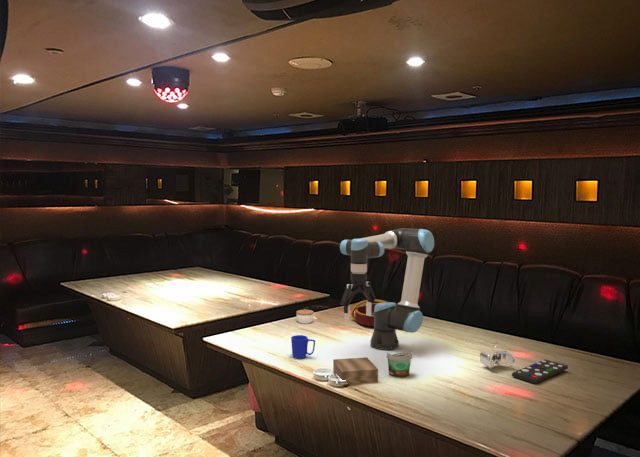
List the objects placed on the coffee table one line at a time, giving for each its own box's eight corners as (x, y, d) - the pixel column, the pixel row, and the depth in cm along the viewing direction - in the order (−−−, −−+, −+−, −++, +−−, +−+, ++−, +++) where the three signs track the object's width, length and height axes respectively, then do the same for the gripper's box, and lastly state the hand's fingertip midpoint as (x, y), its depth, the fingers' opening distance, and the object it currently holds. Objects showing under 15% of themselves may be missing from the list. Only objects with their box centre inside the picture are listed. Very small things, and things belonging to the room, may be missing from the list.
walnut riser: (366, 370, 231) (367, 357, 230) (377, 382, 215) (378, 369, 215) (333, 372, 228) (333, 359, 227) (341, 385, 212) (342, 371, 212)
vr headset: (489, 371, 231) (491, 349, 229) (477, 363, 239) (479, 341, 237) (514, 367, 236) (516, 345, 234) (502, 360, 244) (503, 338, 242)
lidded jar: (294, 322, 316) (294, 307, 315) (310, 321, 319) (310, 306, 318) (298, 326, 305) (298, 311, 305) (315, 325, 309) (315, 310, 308)
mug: (313, 360, 243) (313, 340, 242) (289, 359, 245) (289, 339, 245) (316, 355, 251) (316, 336, 250) (293, 353, 253) (293, 334, 253)
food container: (391, 379, 219) (391, 357, 218) (385, 374, 225) (386, 353, 224) (416, 377, 222) (417, 355, 222) (410, 372, 228) (411, 350, 228)
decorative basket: (410, 321, 320) (410, 298, 319) (391, 332, 295) (392, 307, 294) (362, 314, 338) (363, 292, 337) (341, 323, 313) (342, 300, 312)
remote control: (511, 376, 226) (512, 371, 226) (544, 362, 245) (544, 358, 245) (535, 383, 217) (535, 379, 217) (567, 368, 237) (567, 364, 236)
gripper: (372, 269, 241) (371, 312, 242) (332, 273, 225) (332, 320, 227) (383, 271, 235) (382, 315, 236) (343, 276, 219) (343, 323, 221)
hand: (358, 317), depth 231 cm, fingers open, 13 cm apart
